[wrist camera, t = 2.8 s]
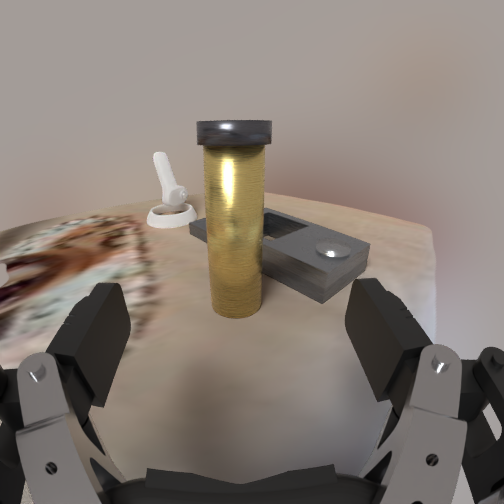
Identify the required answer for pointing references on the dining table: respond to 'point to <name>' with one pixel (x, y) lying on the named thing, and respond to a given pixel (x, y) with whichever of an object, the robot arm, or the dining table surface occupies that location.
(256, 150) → the pin
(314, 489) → the robot arm
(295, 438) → the dining table surface
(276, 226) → the grey plate with studs
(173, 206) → the white vr controller
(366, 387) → the dining table surface
